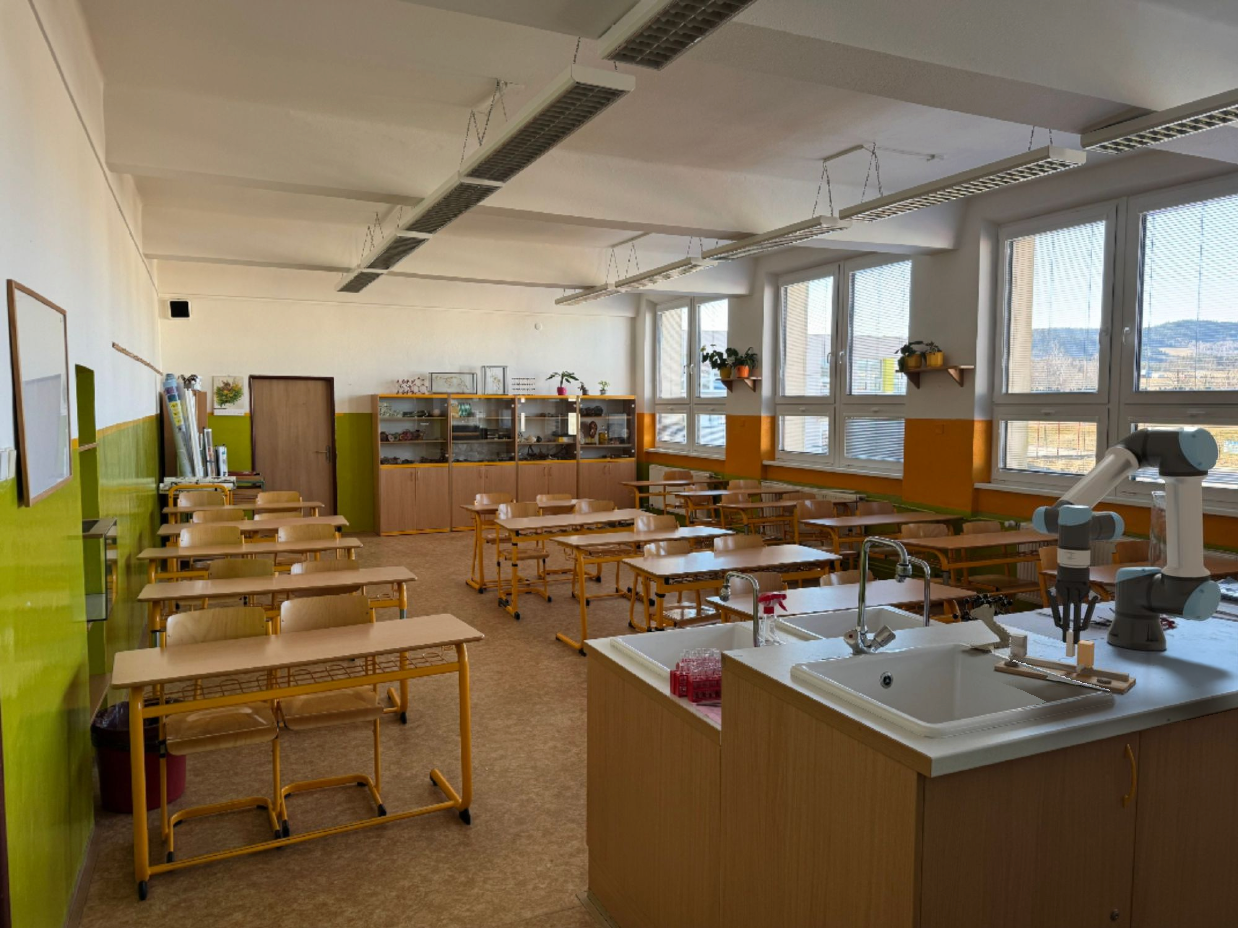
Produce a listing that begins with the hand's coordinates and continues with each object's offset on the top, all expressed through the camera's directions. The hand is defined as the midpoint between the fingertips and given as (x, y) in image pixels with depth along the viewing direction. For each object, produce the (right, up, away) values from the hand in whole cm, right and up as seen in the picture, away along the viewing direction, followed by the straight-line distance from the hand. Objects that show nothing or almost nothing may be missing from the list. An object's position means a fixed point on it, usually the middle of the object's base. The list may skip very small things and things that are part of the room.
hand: (1070, 655), depth 225 cm
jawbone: (-9, -4, +29) cm, 30 cm away
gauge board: (-3, -5, -2) cm, 6 cm away
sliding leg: (+1, -3, -4) cm, 5 cm away
